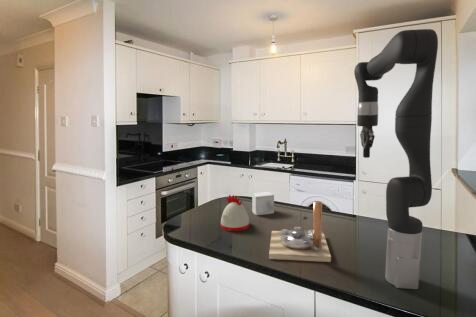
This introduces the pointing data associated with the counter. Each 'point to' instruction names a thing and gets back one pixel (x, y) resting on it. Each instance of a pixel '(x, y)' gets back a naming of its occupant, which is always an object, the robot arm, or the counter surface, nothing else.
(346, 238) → the counter surface
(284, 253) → the nut base plate
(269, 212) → the skincare box
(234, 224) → the kitchen timer
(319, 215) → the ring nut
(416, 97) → the robot arm
